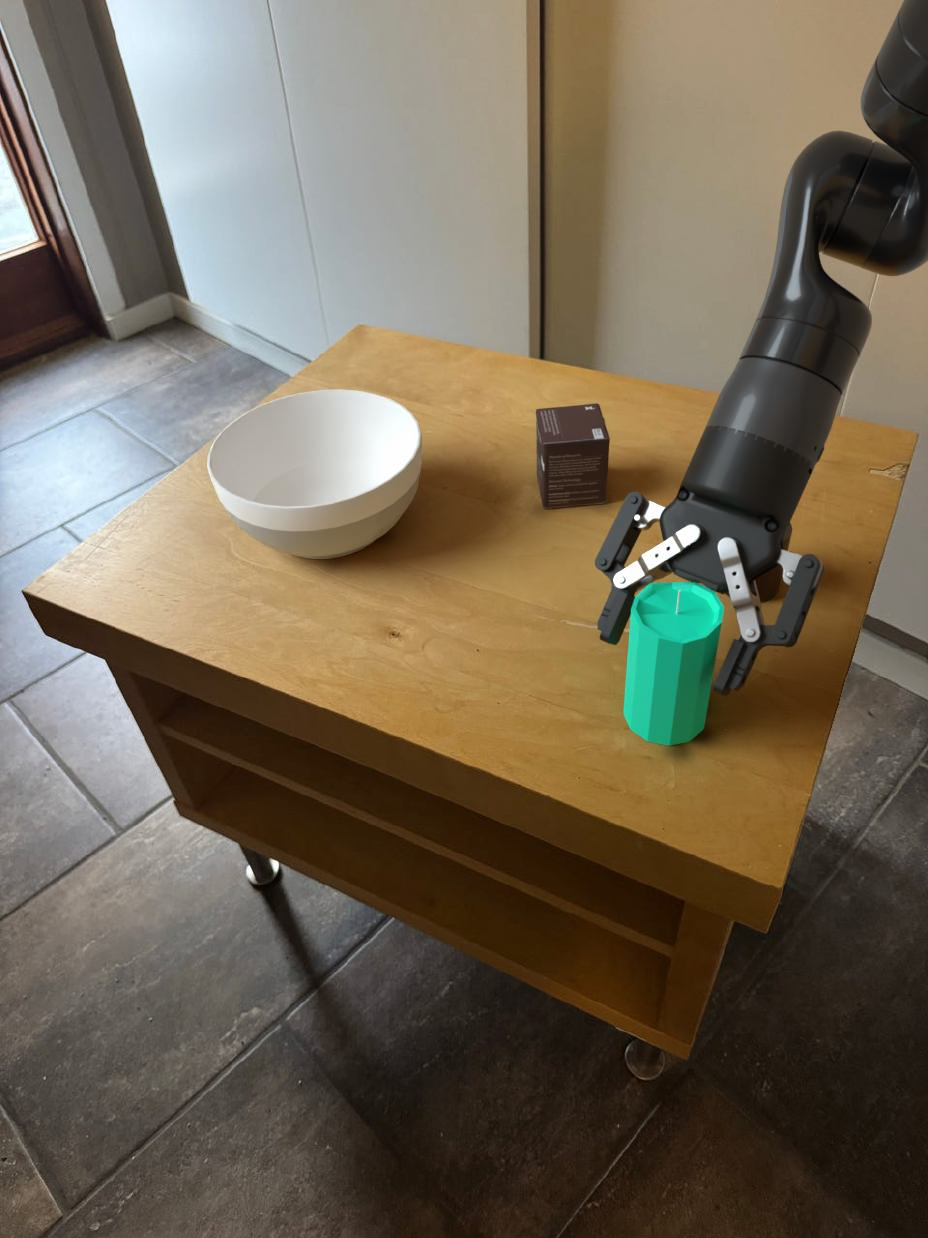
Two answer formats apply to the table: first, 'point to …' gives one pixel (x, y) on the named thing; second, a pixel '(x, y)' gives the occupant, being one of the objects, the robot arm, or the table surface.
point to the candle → (671, 660)
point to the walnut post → (772, 574)
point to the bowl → (318, 470)
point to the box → (572, 455)
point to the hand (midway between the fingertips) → (662, 667)
